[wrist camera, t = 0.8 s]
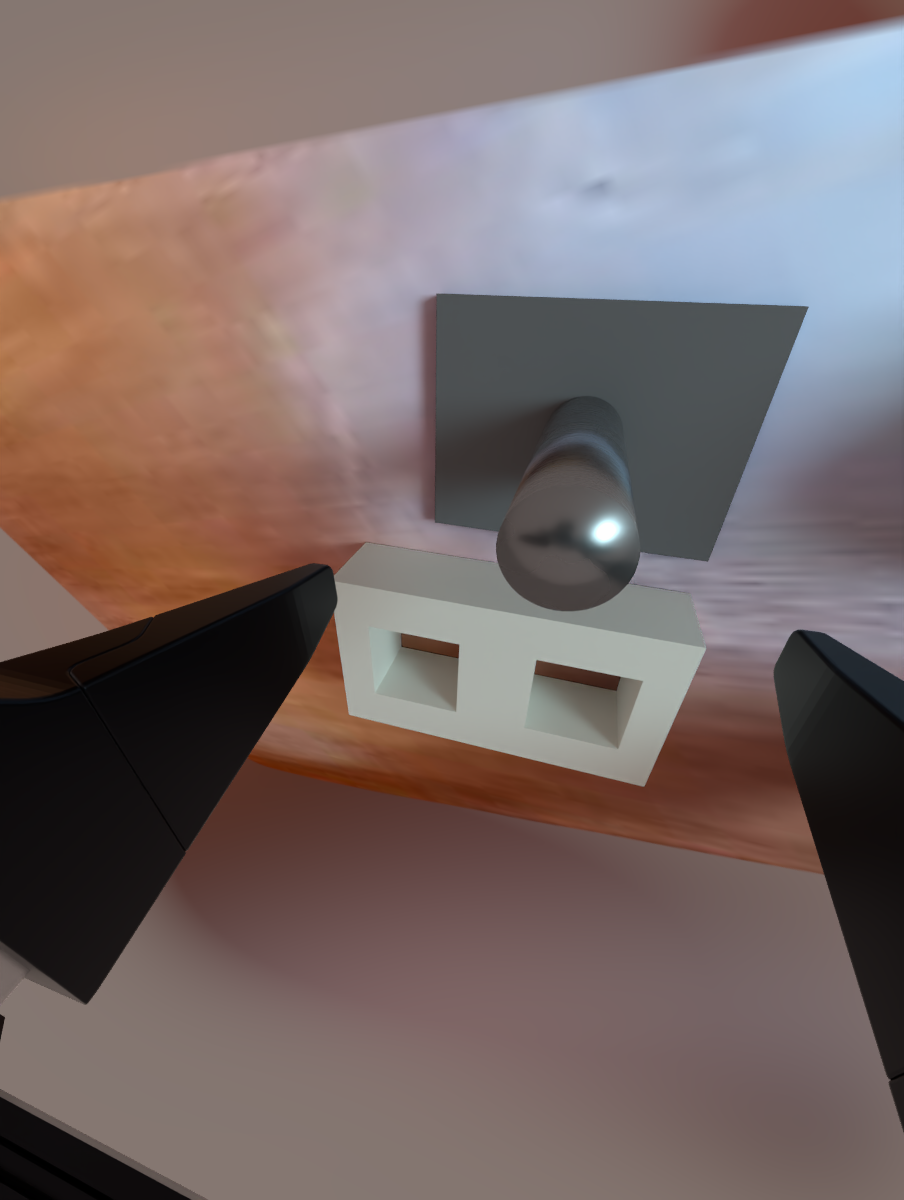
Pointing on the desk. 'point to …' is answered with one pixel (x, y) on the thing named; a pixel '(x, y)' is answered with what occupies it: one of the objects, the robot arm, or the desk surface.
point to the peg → (573, 513)
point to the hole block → (513, 661)
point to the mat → (607, 400)
